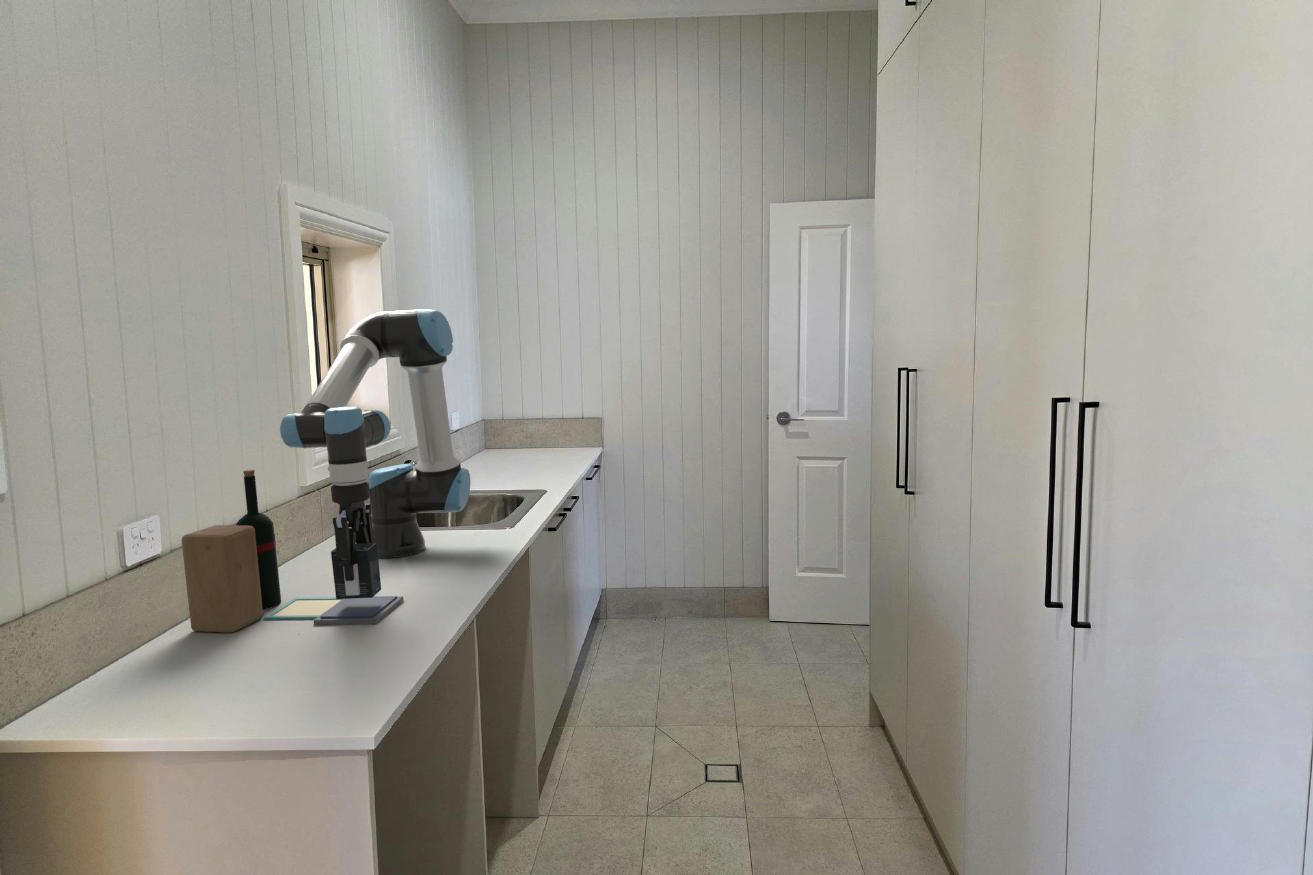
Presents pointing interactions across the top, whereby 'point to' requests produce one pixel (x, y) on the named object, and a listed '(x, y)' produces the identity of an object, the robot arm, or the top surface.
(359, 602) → the ink pad
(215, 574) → the wooden block
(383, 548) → the robot arm
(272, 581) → the wine bottle
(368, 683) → the top surface
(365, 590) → the box
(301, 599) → the print frame
